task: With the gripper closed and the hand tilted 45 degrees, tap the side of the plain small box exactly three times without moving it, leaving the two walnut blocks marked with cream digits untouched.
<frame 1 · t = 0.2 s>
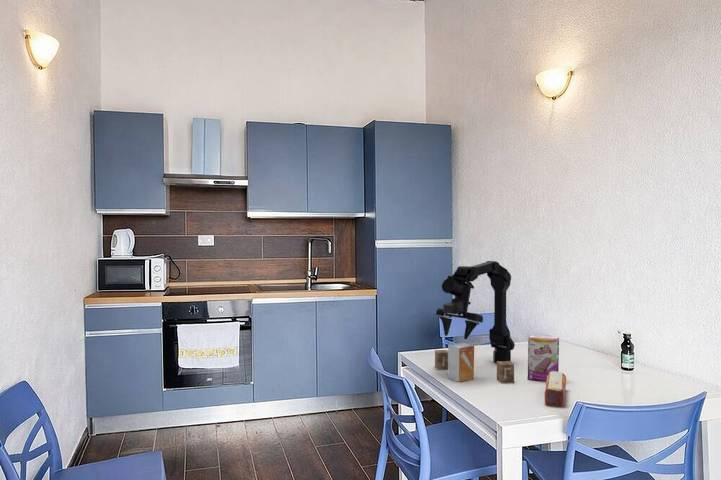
hand: (455, 337, 206), 15 cm above the table, tool tilted 15°, fingers open, 9 cm apart
walnut block one: (442, 368, 220), on the table
snack package: (555, 398, 182), on the table
candy bar box: (543, 380, 203), on the table
walnut block seven: (505, 381, 201), on the table
small box: (460, 379, 204), on the table
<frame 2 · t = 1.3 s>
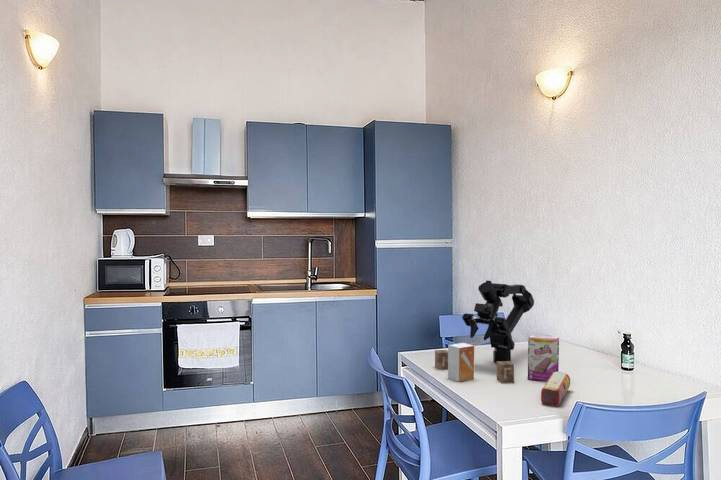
hand: (477, 338, 213), 14 cm above the table, tool tilted 45°, fingers open, 6 cm apart
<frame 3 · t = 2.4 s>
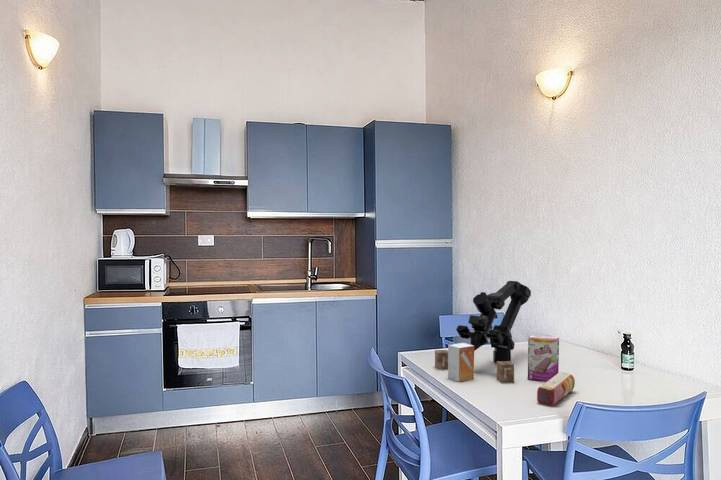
hand: (471, 351, 210), 9 cm above the table, tool tilted 45°, fingers closed
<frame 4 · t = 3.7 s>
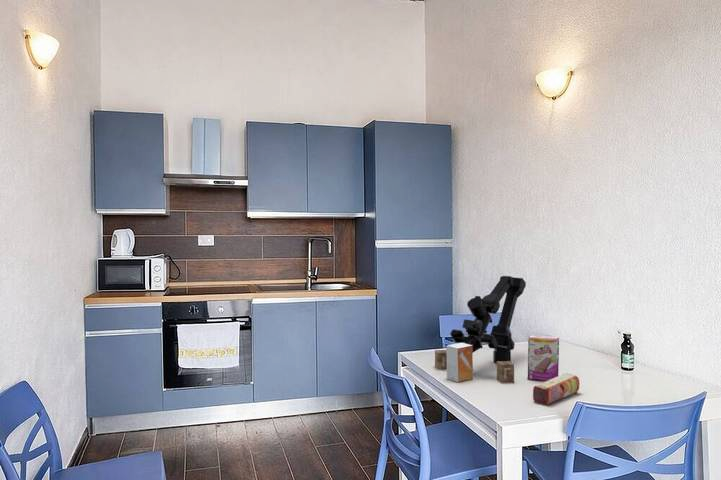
hand: (465, 356, 207), 8 cm above the table, tool tilted 45°, fingers closed
small box: (459, 379, 204), on the table, touching gripper
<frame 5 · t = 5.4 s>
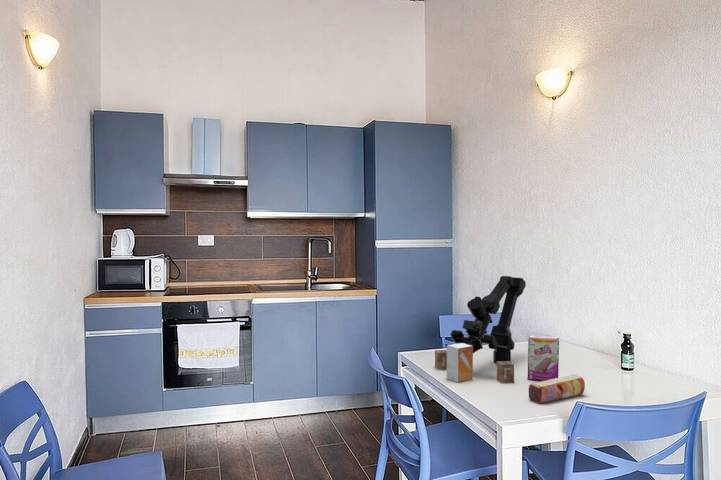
hand: (465, 356, 207), 8 cm above the table, tool tilted 45°, fingers closed
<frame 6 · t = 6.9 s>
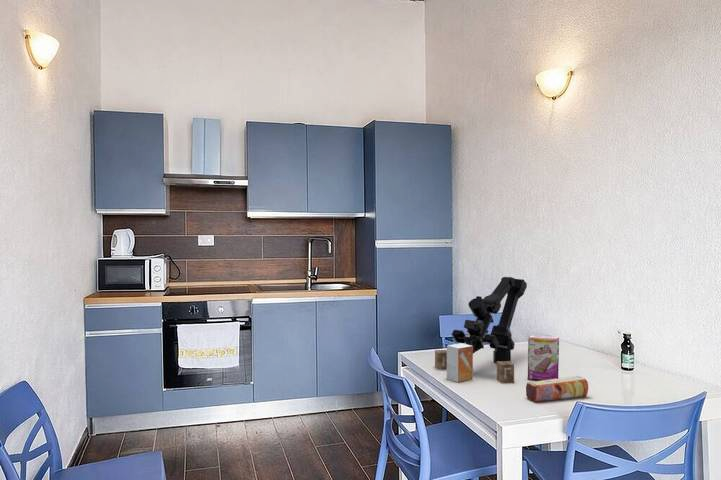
hand: (467, 356, 207), 8 cm above the table, tool tilted 45°, fingers closed
small box: (459, 379, 204), on the table
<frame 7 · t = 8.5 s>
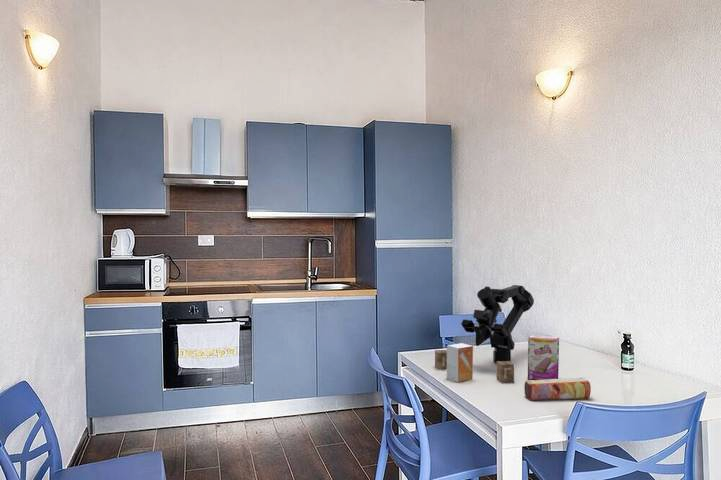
hand: (476, 345, 213), 11 cm above the table, tool tilted 45°, fingers closed
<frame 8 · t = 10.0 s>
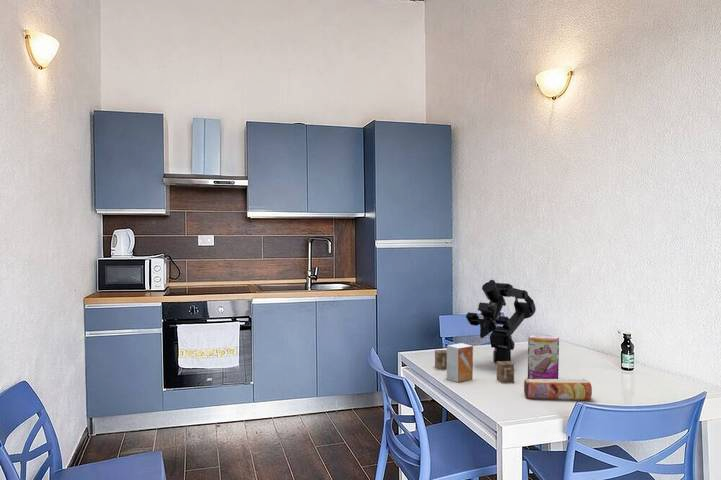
hand: (481, 337, 215), 14 cm above the table, tool tilted 45°, fingers closed
at the end: small box moved 0.9 cm from its start; small box tilted 0°; walnut block seven moved 0.1 cm from its start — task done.
